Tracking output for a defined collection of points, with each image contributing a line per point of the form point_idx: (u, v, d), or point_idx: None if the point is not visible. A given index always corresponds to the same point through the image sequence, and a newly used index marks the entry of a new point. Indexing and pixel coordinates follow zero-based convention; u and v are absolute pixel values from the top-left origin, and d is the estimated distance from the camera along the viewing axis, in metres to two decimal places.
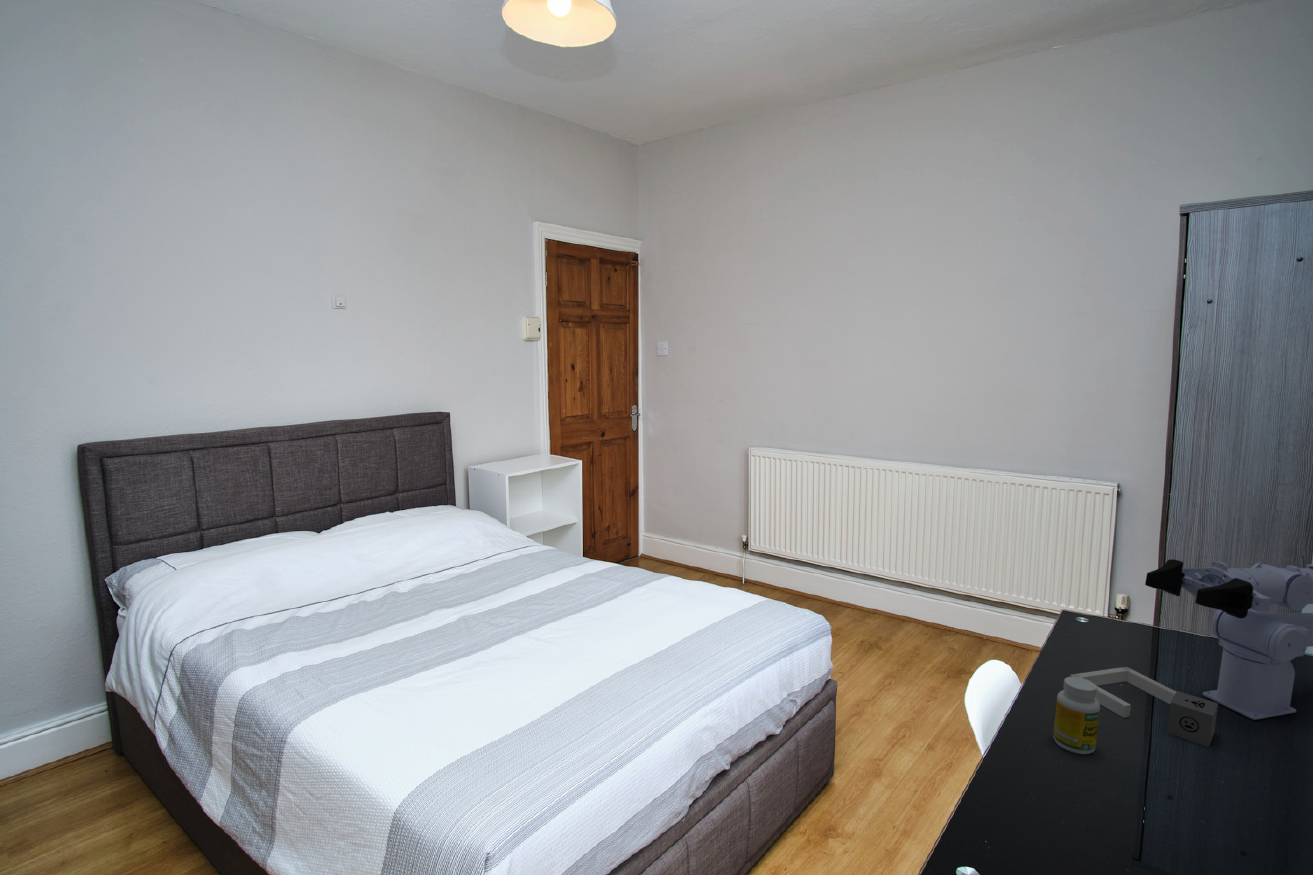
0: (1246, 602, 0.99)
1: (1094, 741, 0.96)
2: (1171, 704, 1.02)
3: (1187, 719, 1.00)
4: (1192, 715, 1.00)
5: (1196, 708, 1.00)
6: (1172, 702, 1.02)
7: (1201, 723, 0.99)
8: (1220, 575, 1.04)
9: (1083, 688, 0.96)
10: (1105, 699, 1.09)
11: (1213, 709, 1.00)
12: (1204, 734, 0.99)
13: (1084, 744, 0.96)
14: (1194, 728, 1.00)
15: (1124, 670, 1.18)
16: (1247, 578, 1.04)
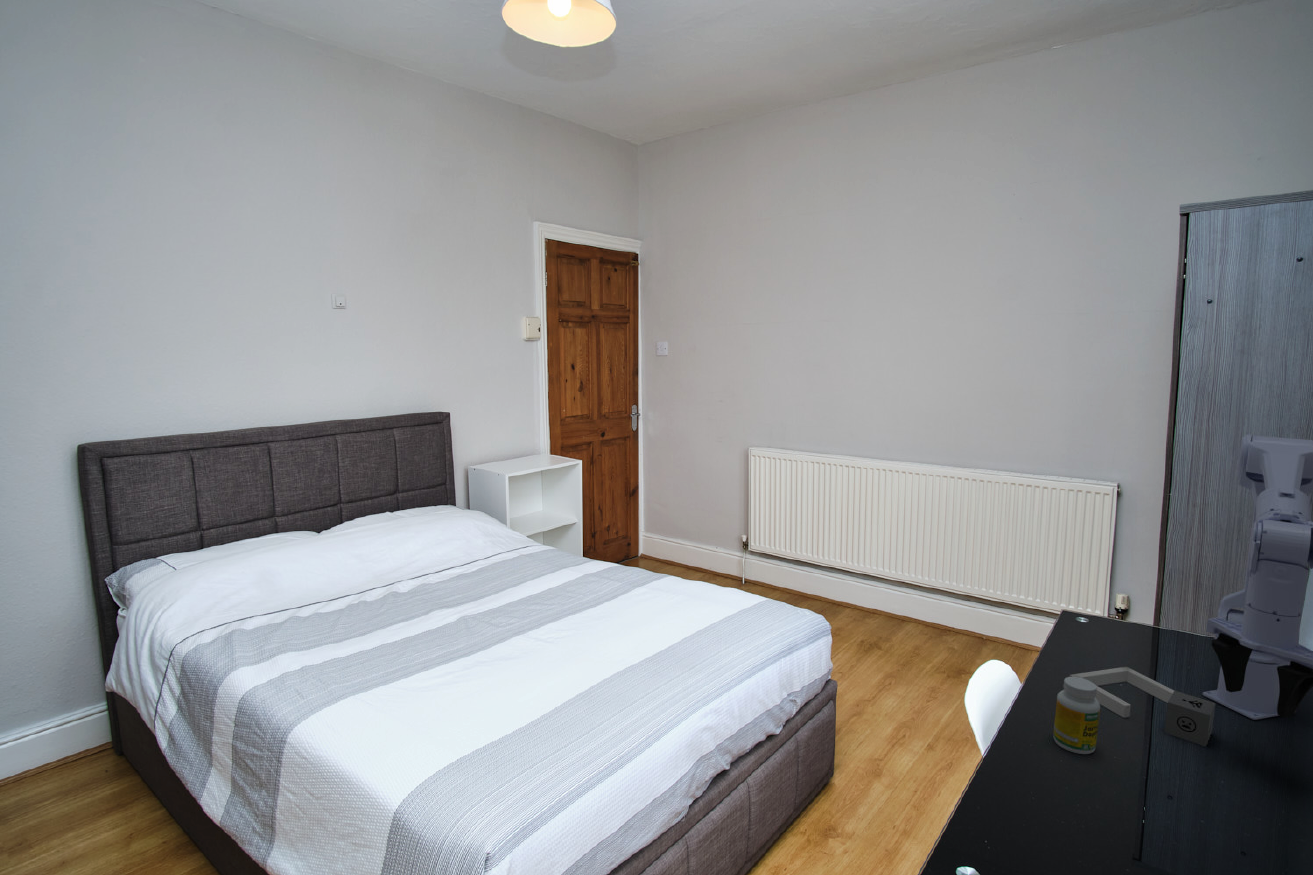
0: None
1: (1094, 741, 0.96)
2: (1168, 704, 1.02)
3: (1184, 719, 1.00)
4: (1190, 715, 1.00)
5: (1193, 708, 1.00)
6: (1169, 702, 1.02)
7: (1198, 723, 0.99)
8: None
9: (1083, 688, 0.96)
10: (1105, 699, 1.09)
11: (1210, 709, 1.00)
12: (1201, 734, 0.99)
13: (1084, 744, 0.96)
14: (1191, 728, 1.00)
15: (1124, 670, 1.18)
16: (1277, 624, 0.89)
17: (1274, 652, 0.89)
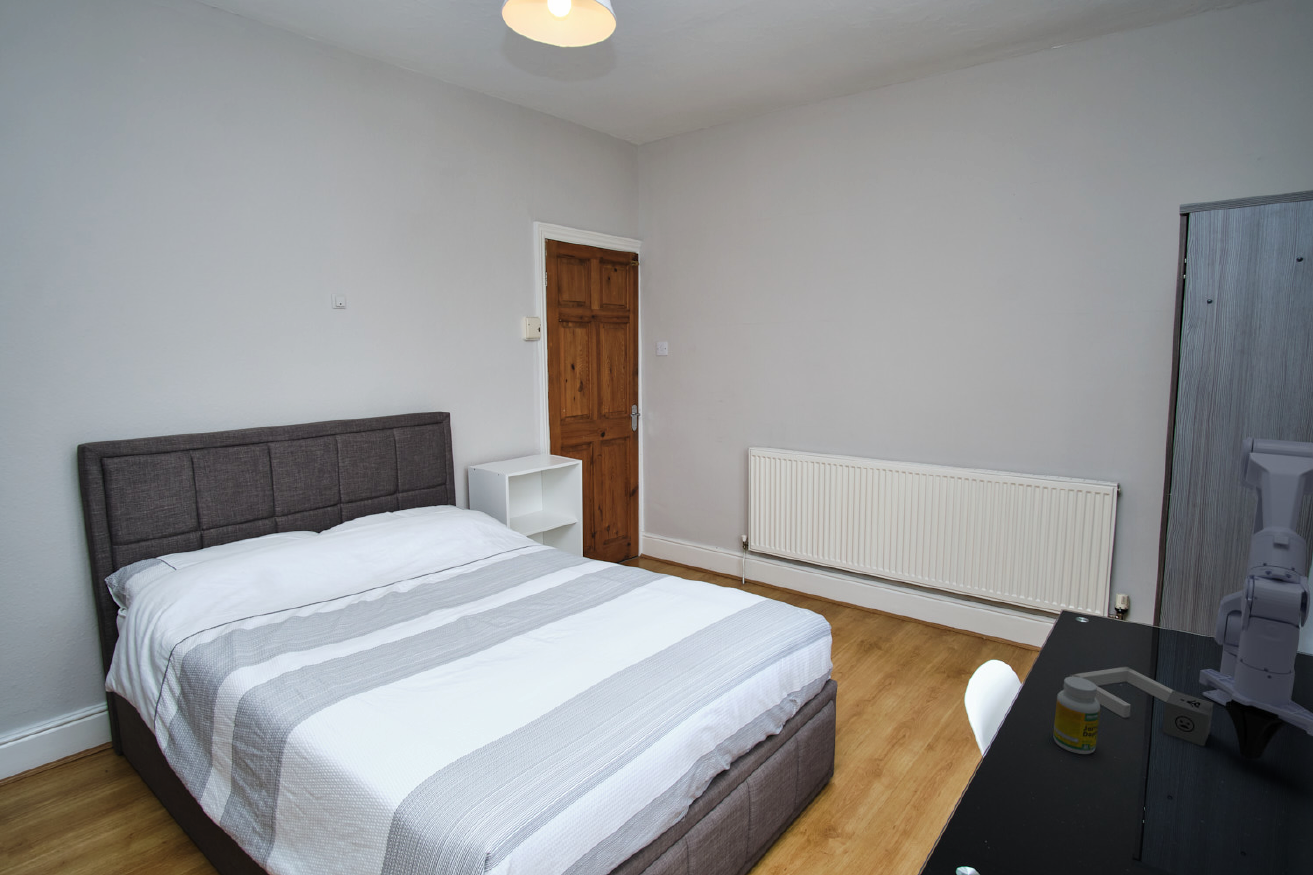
0: (1278, 721, 0.91)
1: (1094, 741, 0.96)
2: (1167, 704, 1.02)
3: (1183, 719, 1.01)
4: (1188, 714, 1.00)
5: (1191, 708, 1.00)
6: (1168, 702, 1.02)
7: (1196, 723, 0.99)
8: None
9: (1083, 688, 0.96)
10: (1105, 699, 1.09)
11: (1208, 709, 1.00)
12: (1199, 734, 0.99)
13: (1084, 744, 0.96)
14: (1189, 728, 1.00)
15: (1124, 670, 1.18)
16: (1268, 681, 0.90)
17: (1265, 708, 0.90)
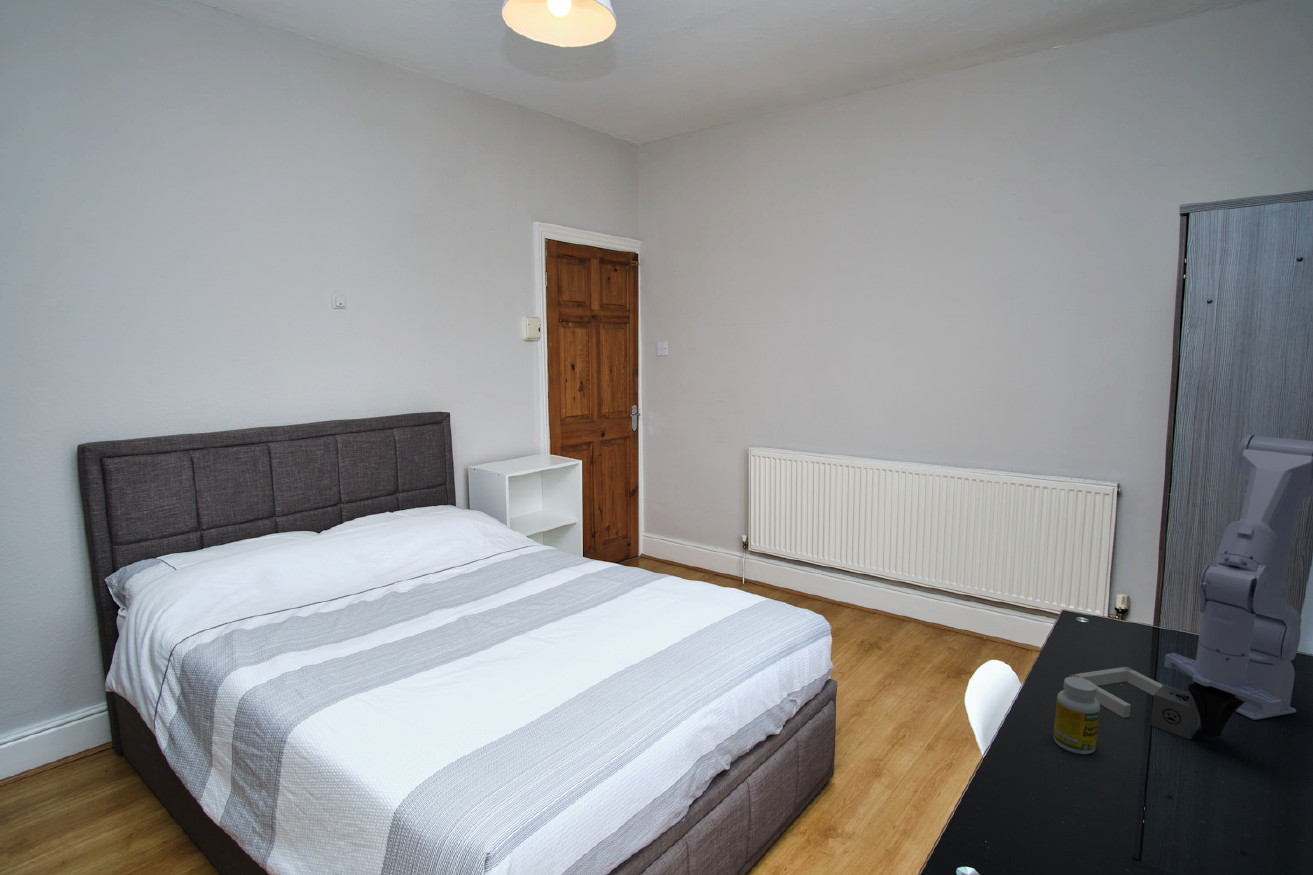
0: (1235, 701, 0.96)
1: (1094, 741, 0.96)
2: (1154, 696, 1.04)
3: (1170, 711, 1.02)
4: (1175, 707, 1.02)
5: (1179, 701, 1.02)
6: (1155, 694, 1.04)
7: (1183, 715, 1.01)
8: None
9: (1083, 688, 0.96)
10: (1105, 699, 1.09)
11: None
12: (1186, 726, 1.01)
13: (1084, 744, 0.96)
14: (1176, 720, 1.02)
15: (1124, 670, 1.18)
16: (1226, 663, 0.95)
17: (1224, 689, 0.95)
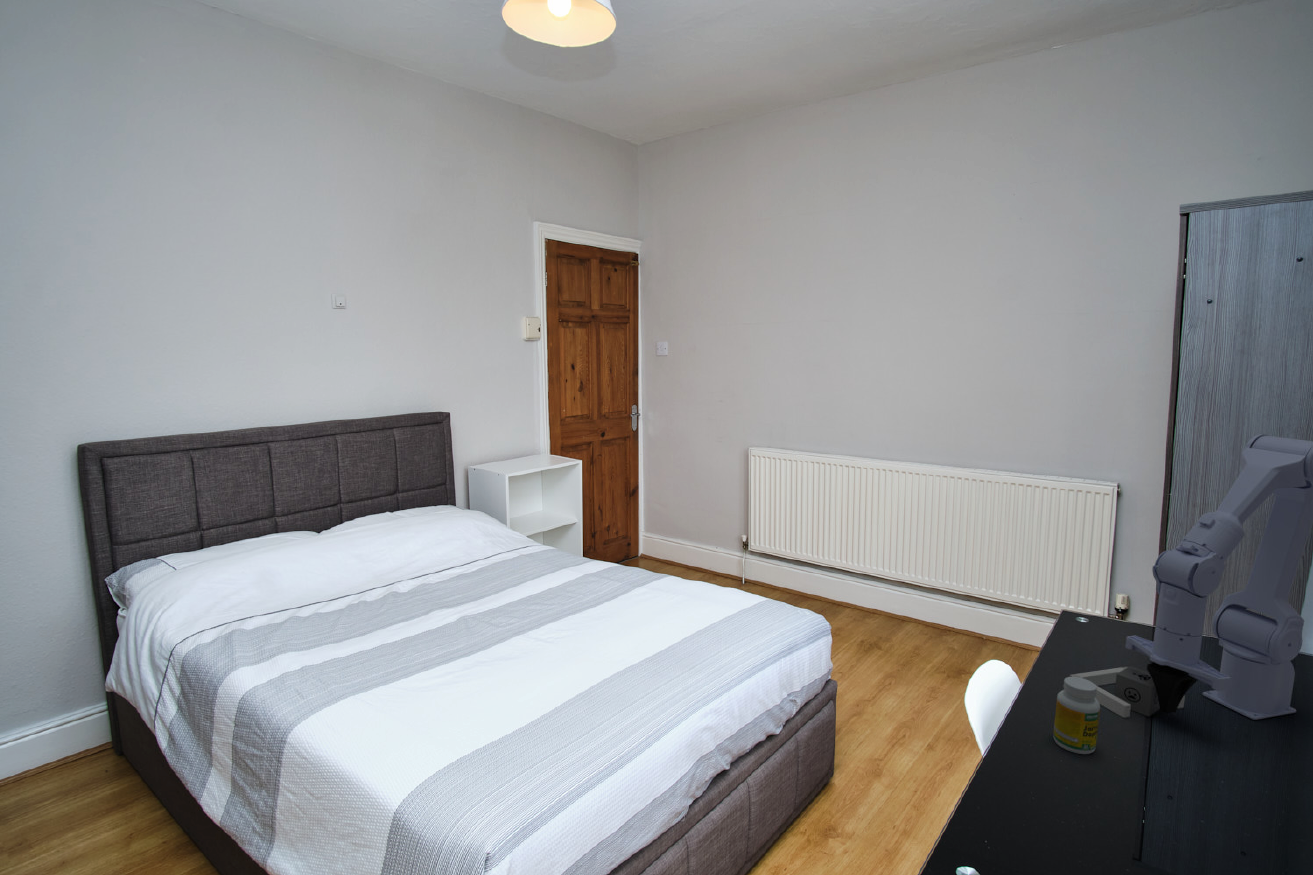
0: (1188, 679, 1.03)
1: (1094, 741, 0.96)
2: (1117, 676, 1.10)
3: (1130, 690, 1.08)
4: (1135, 686, 1.08)
5: (1139, 680, 1.08)
6: (1118, 674, 1.10)
7: (1142, 694, 1.07)
8: None
9: (1083, 688, 0.96)
10: (1105, 699, 1.09)
11: None
12: (1145, 704, 1.07)
13: (1084, 744, 0.96)
14: (1136, 698, 1.08)
15: None
16: (1180, 643, 1.02)
17: (1178, 667, 1.02)
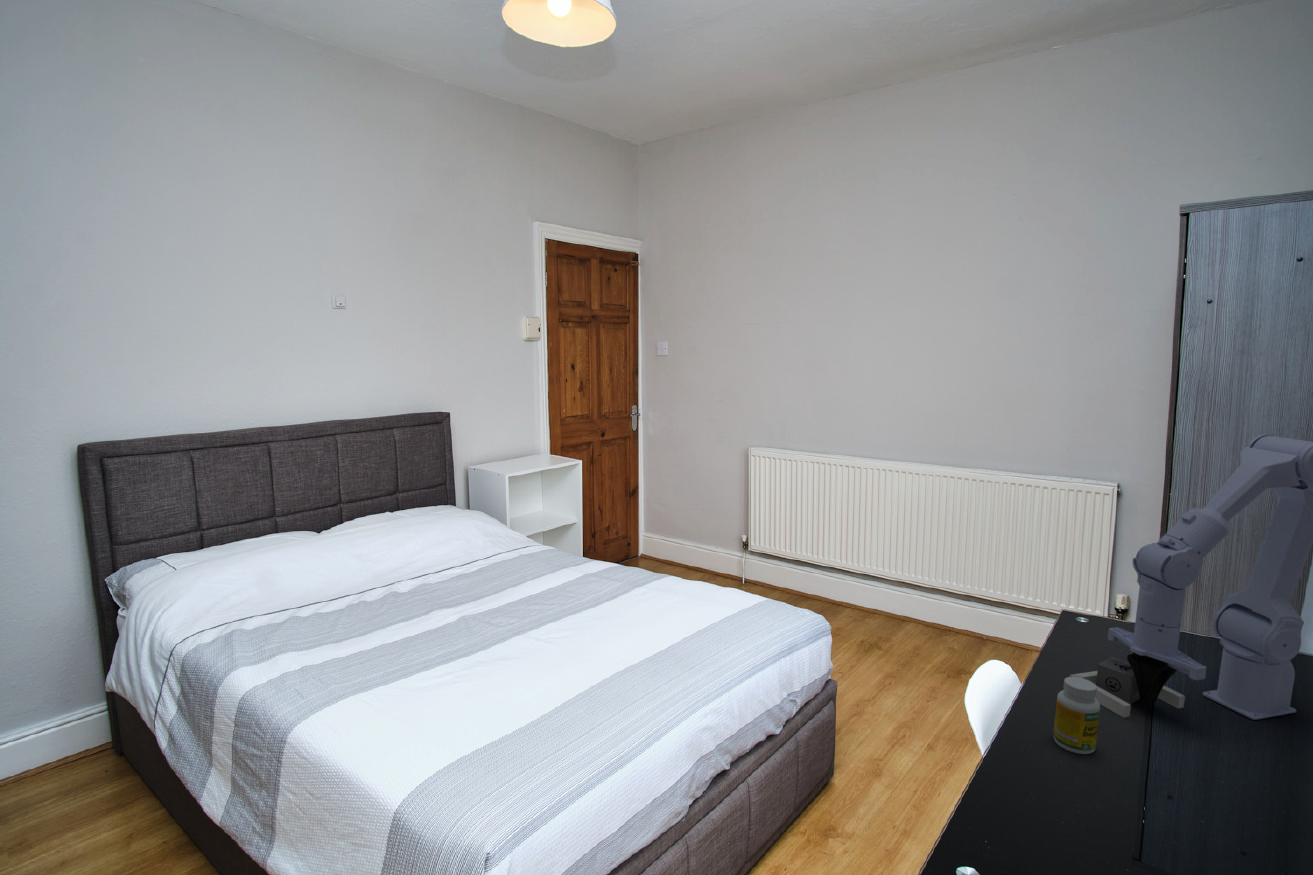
0: (1167, 669, 1.06)
1: (1094, 741, 0.96)
2: (1098, 666, 1.13)
3: (1111, 679, 1.12)
4: (1115, 676, 1.11)
5: (1120, 670, 1.11)
6: (1100, 664, 1.13)
7: (1122, 683, 1.10)
8: None
9: (1083, 688, 0.96)
10: (1105, 699, 1.09)
11: None
12: (1125, 693, 1.10)
13: (1084, 744, 0.96)
14: (1117, 688, 1.11)
15: None
16: (1159, 634, 1.05)
17: (1156, 658, 1.05)
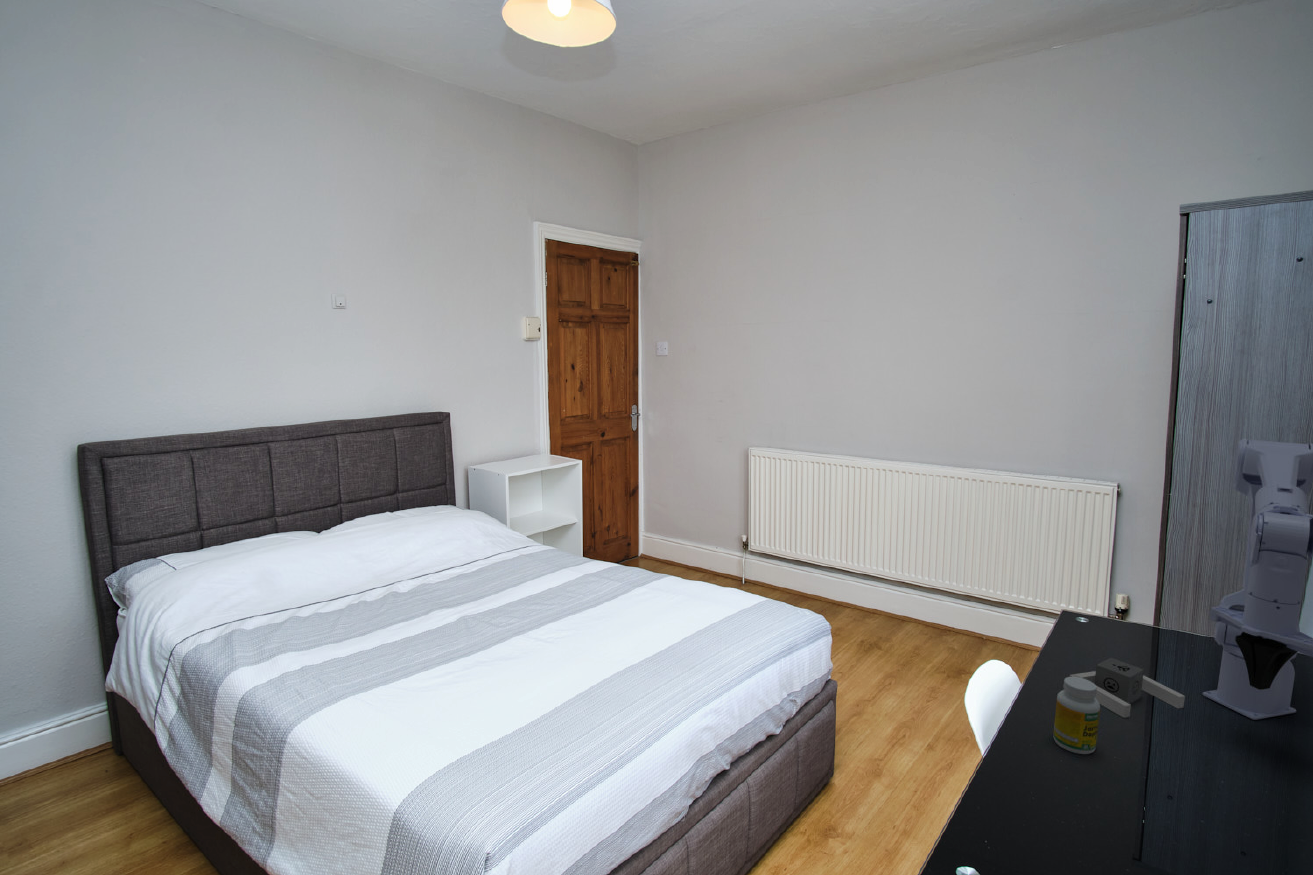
0: (1286, 651, 0.94)
1: (1094, 741, 0.96)
2: (1097, 666, 1.13)
3: (1109, 680, 1.12)
4: (1114, 676, 1.11)
5: (1118, 671, 1.11)
6: (1098, 665, 1.13)
7: (1120, 684, 1.10)
8: None
9: (1083, 688, 0.96)
10: (1105, 699, 1.09)
11: (1134, 673, 1.11)
12: (1123, 694, 1.10)
13: (1084, 744, 0.96)
14: (1115, 688, 1.11)
15: None
16: (1277, 612, 0.93)
17: (1274, 638, 0.94)
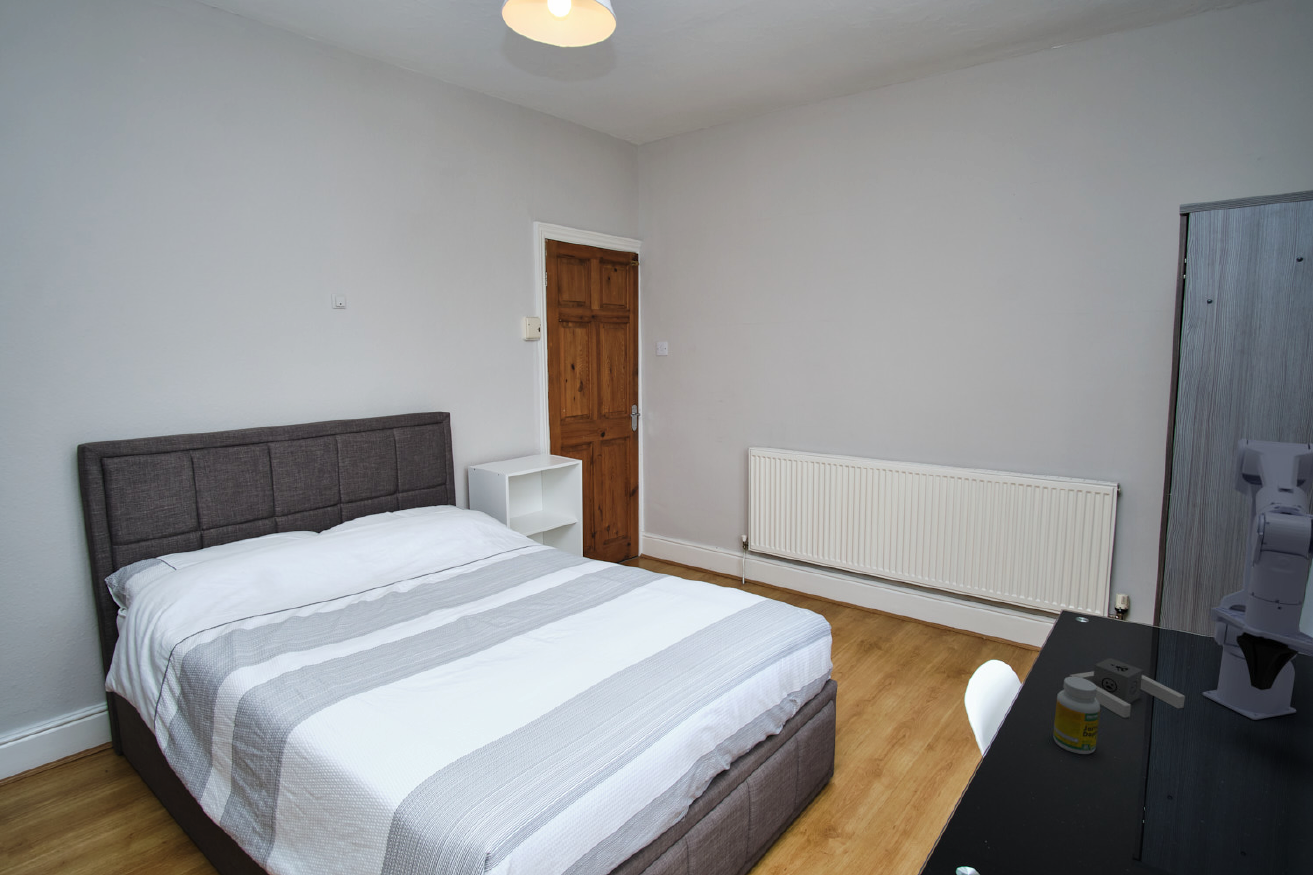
0: (1287, 651, 0.94)
1: (1094, 741, 0.96)
2: (1095, 666, 1.13)
3: (1108, 680, 1.12)
4: (1112, 676, 1.11)
5: (1116, 671, 1.11)
6: (1096, 665, 1.13)
7: (1118, 684, 1.10)
8: None
9: (1083, 688, 0.96)
10: (1105, 699, 1.09)
11: (1133, 673, 1.10)
12: (1121, 694, 1.10)
13: (1084, 744, 0.96)
14: (1113, 688, 1.11)
15: None
16: (1278, 612, 0.93)
17: (1276, 638, 0.93)
